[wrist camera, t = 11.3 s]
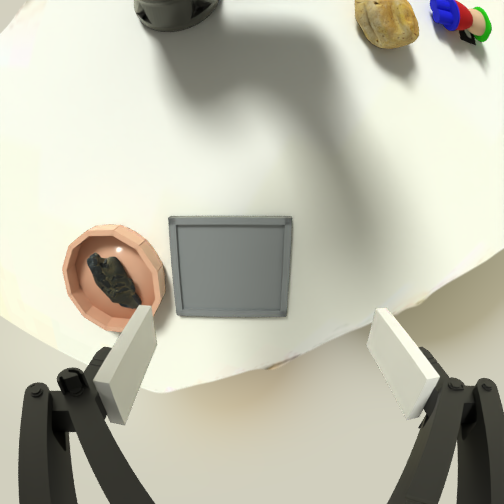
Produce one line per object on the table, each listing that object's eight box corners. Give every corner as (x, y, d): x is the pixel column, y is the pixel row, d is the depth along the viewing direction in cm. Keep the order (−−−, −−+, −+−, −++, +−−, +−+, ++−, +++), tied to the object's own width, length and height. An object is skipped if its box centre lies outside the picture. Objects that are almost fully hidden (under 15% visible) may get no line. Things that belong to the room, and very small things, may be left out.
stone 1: (128, 312, 54) (119, 327, 49) (86, 260, 50) (73, 270, 45) (152, 297, 53) (144, 311, 48) (108, 240, 49) (96, 250, 44)
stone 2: (408, 53, 39) (436, 38, 30) (363, 53, 40) (386, 35, 31) (386, -1, 36) (408, -22, 26) (340, -3, 36) (357, -28, 27)
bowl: (67, 225, 49) (55, 231, 45) (160, 223, 49) (153, 229, 45) (84, 317, 55) (76, 326, 51) (170, 324, 55) (165, 335, 52)
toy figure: (429, 34, 39) (482, 48, 37) (448, 24, 31) (504, 42, 28) (421, 0, 36) (475, 15, 33) (438, -14, 27) (495, 6, 25)
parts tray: (170, 216, 49) (168, 217, 48) (291, 216, 49) (292, 217, 48) (178, 312, 55) (176, 315, 53) (285, 313, 55) (286, 316, 54)
